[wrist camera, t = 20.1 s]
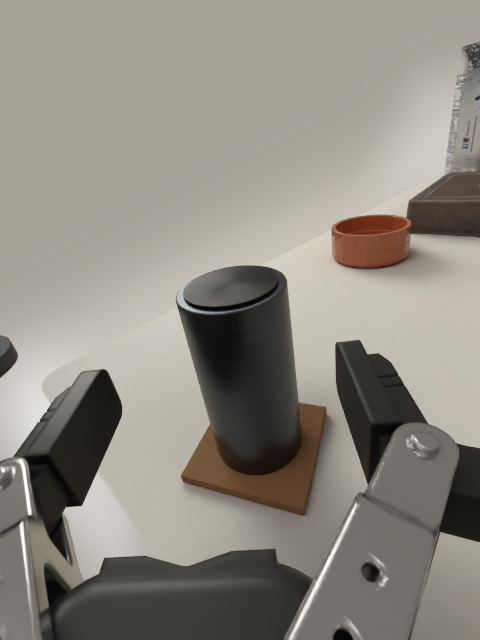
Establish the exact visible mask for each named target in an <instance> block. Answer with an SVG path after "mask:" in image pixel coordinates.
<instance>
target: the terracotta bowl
mask: <svg viewBox="0 0 480 640" xmlns="http://www.w3.org/2000/svg"><path fill="white" fill-rule="evenodd" d="M410 234H411V220H409V219H407V218H405V217H401V216H396V215H366V216H358V217H354V218H349V219H345V220H342V221H340V222H338V223H336V224H334V225H333V227H332V256H333V257H334V259H335V260H337V261H338V262H339V263H341V264H343V265H346V266H350V267H356V268H377V267H384V266H389V265H392V264H395V263H397V262H399V261H401V260H402V259H404V258H405V257H406V256H407V255H408V254H409V245H410Z"/></svg>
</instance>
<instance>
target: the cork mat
mask: <svg viewBox="0 0 480 640" xmlns="http://www.w3.org/2000/svg"><path fill="white" fill-rule="evenodd" d="M299 413H300V423H301V434H302V441H301V446H300V449H299V451H298V453H297V455H296V456H295V457H294V459H293V460H292V461H291V462H290V463H289V464H287V465H286V466H285V467H283V468H281V469H280V470H277V471H275V472H272V473H269V474H264V475H248V474H243V473H240V472H237V471H235V470H233V469H232V468H230V467H229V466H228V465H227V464H226V463H225V462H224V461H223V460H222V458H221V457H220V455H219V452H218V449H217V446H216V442H215V438H214V435H213V431H212V428H211V424H210V426H209V427H208V429H207V431H206V433H205V434H204V436H203V438H202V440H201V441H200V443H199V445H198V447H197V448H196V450H195V452H194V454H193V455H192V457H191V459H190V461H189V462H188V464H187V466H186V468H185V470H184V471H183V473H182V475H181V478H182V480H183V482H186V483H190V484H193V485H197V486H201V487H204V488H208V489H211V490H215V491H218V492H222V493H226V494H229V495H233V496H236V497H240V498H243V499H247V500H251V501H254V502H258V503H261V504H265V505H268V506H272V507H276V508H279V509H283V510H286V511H290V512H293V513H297V514H300V515H304V514H305V509H306V504H307V500H308V495H309V491H310V486H311V481H312V477H313V472H314V467H315V463H316V458H317V453H318V449H319V444H320V440H321V435H322V430H323V426H324V421H325V416H326V407H322V406H315V405H308V404H302V403H299Z"/></svg>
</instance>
